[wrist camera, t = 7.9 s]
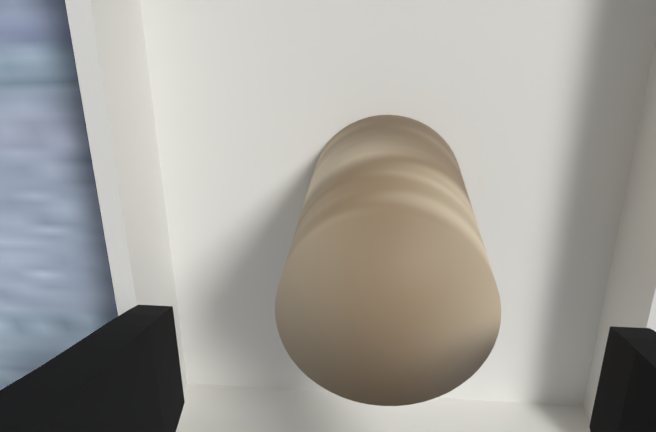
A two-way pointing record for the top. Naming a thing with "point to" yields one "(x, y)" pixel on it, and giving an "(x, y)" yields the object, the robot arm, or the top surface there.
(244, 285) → the tray
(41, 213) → the top surface
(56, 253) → the top surface
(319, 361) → the birch cylinder
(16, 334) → the top surface
